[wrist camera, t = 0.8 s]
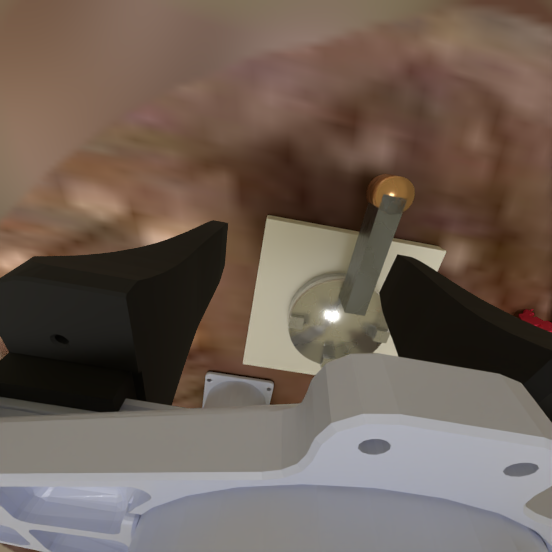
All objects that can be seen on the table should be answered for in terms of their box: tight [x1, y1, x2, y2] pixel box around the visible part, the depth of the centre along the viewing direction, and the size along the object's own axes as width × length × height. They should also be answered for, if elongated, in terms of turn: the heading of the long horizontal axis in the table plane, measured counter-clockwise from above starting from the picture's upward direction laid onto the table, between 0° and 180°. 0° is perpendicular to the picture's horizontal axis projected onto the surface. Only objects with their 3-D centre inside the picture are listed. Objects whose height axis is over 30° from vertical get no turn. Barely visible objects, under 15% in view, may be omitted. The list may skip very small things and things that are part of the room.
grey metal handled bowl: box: [288, 174, 415, 368], centre depth 23 cm, size 18×9×5 cm, turn 170°
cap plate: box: [243, 215, 446, 375], centre depth 28 cm, size 16×16×2 cm
